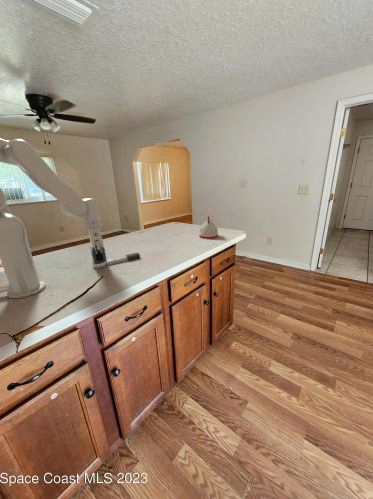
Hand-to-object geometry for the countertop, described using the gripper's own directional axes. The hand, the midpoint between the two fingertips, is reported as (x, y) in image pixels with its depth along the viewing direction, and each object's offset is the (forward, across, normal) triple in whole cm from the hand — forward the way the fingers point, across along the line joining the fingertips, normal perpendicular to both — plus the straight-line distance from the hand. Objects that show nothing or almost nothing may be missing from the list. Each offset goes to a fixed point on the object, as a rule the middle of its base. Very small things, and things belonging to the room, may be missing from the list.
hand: (99, 258), depth 106 cm
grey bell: (+5, +12, -79) cm, 80 cm away
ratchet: (+4, 0, -9) cm, 10 cm away
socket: (+1, 0, 0) cm, 1 cm away
